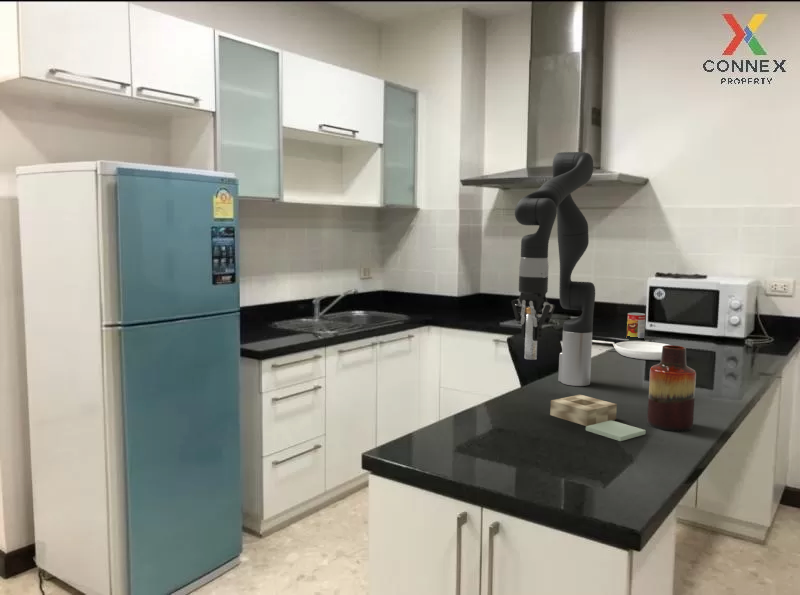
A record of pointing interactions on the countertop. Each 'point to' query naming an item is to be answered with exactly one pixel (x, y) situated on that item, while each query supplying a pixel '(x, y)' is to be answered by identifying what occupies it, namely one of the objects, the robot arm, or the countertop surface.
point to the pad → (615, 430)
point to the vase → (671, 391)
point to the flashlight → (530, 337)
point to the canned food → (636, 325)
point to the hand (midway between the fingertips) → (531, 339)
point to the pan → (638, 349)
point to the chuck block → (583, 410)
